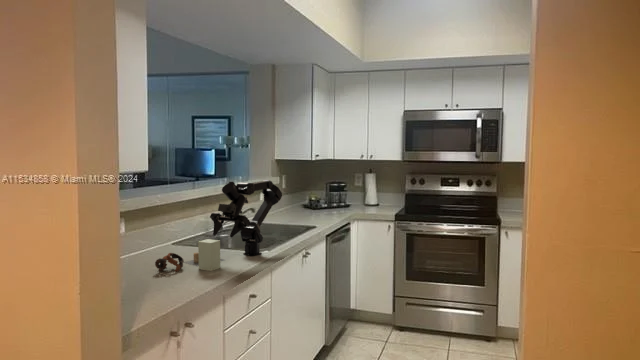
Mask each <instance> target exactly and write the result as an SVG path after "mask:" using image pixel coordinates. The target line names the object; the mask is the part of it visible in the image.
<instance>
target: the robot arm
mask: <svg viewBox="0 0 640 360" xmlns="http://www.w3.org/2000/svg"><path fill="white" fill-rule="evenodd" d="M221 188H222V189H221V192H222V193H223V195H224V196H225V197H226V198H227V199H228V200H229V201H230V203H228V204H227V203H226V204H225V203H219V204H218V208H217V212H211V213H210V216H209V218H210V219H211V221H212V222H213V231H212V232H213V233H212V235H213V236H216V235H217V234H218V233H219V231H220V230H221V228H222V227H223V226H224V225H223V224H224V222H232V223H234V225H233V227H232V229H231V232H230V234H229V237H230V238H233V237H234V236H235V235H237V234H238V233H239V232H240V238H241V241H242V242H244V243H245V245H244V252H243V255H244V256H250V257H254V256H258V255H262V254H263V253H262V252H261V251H260V243H262V242H263V239H264V237H263V235H262V234H261V225H262V224H263V222H264V221H265V219H266V218H267V215H268V214H269V213H270V210H271V209H272V207H273V206H275V205H276V204H278V203H279V202H280V201H281V200H282V197H283V193H282V191H281V189H280V188H279V187H278V186H277V185H275V184H274V182H273V181H271V180H268V179H267V180H266V179H263V180H261V181H255V182H242V181H241V182H237V183H236V184H235V182H234V181H229V182H228V183H226V184H225V185H223V186H222V187H221ZM261 190H262V191H261ZM257 191H261V193H262V195H263V202H262V203H261V204H260V206H259V208H258V210H257V211H256V213H255V215H254V216H252V217H253V218H252V219H251V221H250V219H249V218H248V217H247V216H246V215H244V214H242V213H243V211H242V210H243V207H244V205H245V204H248V203H249V200H248V197H247V196H251V195H253V194H254V193H255V192H257ZM245 196H246V197H245ZM219 212H221V213H219Z"/></svg>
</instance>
